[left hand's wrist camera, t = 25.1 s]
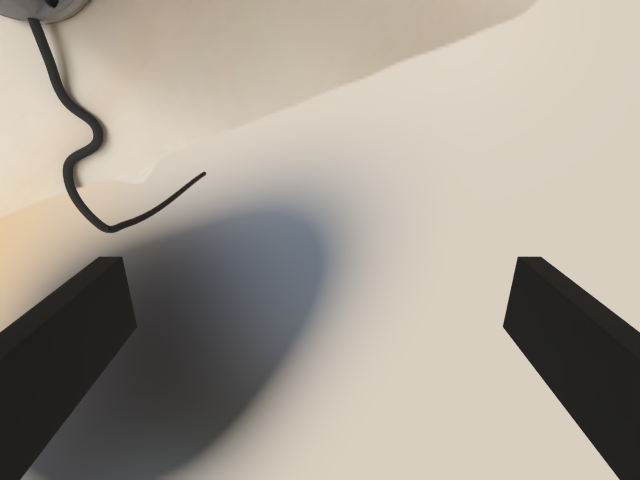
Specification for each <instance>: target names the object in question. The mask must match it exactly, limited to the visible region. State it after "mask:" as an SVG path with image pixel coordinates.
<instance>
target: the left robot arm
mask: <svg viewBox="0 0 640 480" xmlns="http://www.w3.org/2000/svg"><path fill="white" fill-rule="evenodd" d="M89 1H90V0H0V15H2V16H5V17H8V18H12V19H16V20H21V21H25V22H29V24H30V27H31V29H32V32H33V34H34V37H35V39H36V42H37V45H38V47H39V50H40V52H41V55H42V57H43V60H44V62H45V65H46V68H47V71H48V74H49V77H50V80H51V83H52V86H53V88H54V90H55V92H56V94H57V96H58V98H59V99H60V101H61V102H62V103H63V105H64V106H65V107H66V108H67V109H68V110H70V111H71V112H72V113H73V114H75V115H76V116H78V117H79V118H81V119H82V120H84V121H85V122H86V123H88V124H89V125H90V127H91V128H92V130H93V140H92V142H91V143H90V144H88V145H87V146H85V147H83V148H81V149H79V150H77V151H76V152H74V153H72V154H71V155H70V156H69V157H68V158H67V159H66V160H65V162H64V165H63V178H64V183H65V187H66V189H67V192H68V194H69V196H70V198H71V200H72V201H73V203H74V204H75V206H76V207H77V208H78V210H79V211H80V212H81V213H82V214H83V215H84V216H85V217H86V218H87V219H88V220H89V221H90V222H91V223H92V224H93V225H94V226H95V227H97V228H98V229H100V230H101V231H103V232H106V233H115V232H118V231H120V230H122V229H125V228H127V227H130V226H133V225H135V224H138V223H140V222H142V221H144V220H146V219H148V218H149V217H151V216H153V215H154V214H156V213H157V212H159V211H160V210H162V209H163V208H165V207H166V206H167V205H169V204H170V203H171V202H173V201H174V200H175V199H176V198H178V197H179V196H180V195H181V194H182V193H184V192H185V191H186V190H187V189H188V188H190V187H191V186H192V185H193V184H194V183H196V182H197V181H198V180H200V179H201V178H202V177H204V176H205V175H206V172H202V173H201V174H199V175H198V176H196V177H195V178H193V179H192V180H191V181H190V182H188V183H187V184H186V185H184V186H183V187H182V188H181V189H179V190H178V191H177V192H175V193H174V194H173V195H172V196H170V197H169V198H168V199H166V200H165V201H163V202H162V203H161V204H159V205H158V206H156V207H154V208H153V209H151V210H149V211H147V212H146V213H144V214H142V215H139V216H137V217H135V218H132V219H129V220H126V221H123V222H120V223H118V224H116V225H113V226H109V225H106V224H105V223H103V222H102V221H101V220H100V219H99V218H97V217H96V216H95V215H94V214H93V213H92V212H91V211H90V210H89V208H88V207H87V206H86V205H85V204H84V202H83V201H82V199H81V198H80V196H79V194H78V192H77V190H76V187H75V184H74V181H73V171H72V170H73V166H74V164H75V163H76V162H77V161H79V160H80V159H82V158H84V157H86V156H88V155H90V154H92V153H94V152H95V151H96V150H98V149H99V147H100V146H101V144H102V141H103V132H102V128H101V126H100V124H99V123H98V122H97V120H96V119H95V118H94V117H92V116H91V115H90V114H88V113H87V112H86V111H84V110H83V109H81V108H80V107H78V106H77V105H76V104H75V103H73V102H72V100H71V99H70V98H69V97H68V95H67V93H66V91H65V90H64V87H63V85H62V82H61V79H60V76H59V73H58V70H57V66H56V63H55V61H54V58H53V55H52V53H51V50H50V47H49V45H48V42H47V40H46V37H45V34H44V32H43V29H42V26H41V24H49V23H56V22H59V21H63V20H65V19H68V18H70V17H72V16H73V15H75V14H76V13H78V12H79V11H80V10H81V9H82V8H83V7H85V5H86V4H87V3H88V2H89ZM503 327H504V329H505V330H506V332H507V333H508V334H509V335H510V337H511V338H512V339H513V341H514V342H515V343H516V345H517V346H518V347H519V349H520V350H521V351H522V352H523V354H524V355H525V356H526V358H527V359H528V360H529V361H530V363H531V364H532V366H533V367H534V368H535V369H536V371H537V372H538V373H539V375H540V376H541V377H542V379H543V380H544V381H545V383H546V384H547V385H548V386H549V388H550V389H551V390H552V392H553V393H554V394H555V396H556V397H557V398H558V400H559V401H560V402H561V403H562V405H563V406H564V407H565V409H566V410H567V411H568V413H569V414H570V415H571V417H572V418H573V419H574V420H575V422H576V423H577V424H578V426H579V427H580V428H581V430H582V431H583V432H584V433H585V435H586V436H587V437H588V439H589V440H590V441H591V443H592V444H593V445H594V447H595V448H596V449H597V451H598V452H599V453H600V454H601V456H602V457H603V458H604V460H605V461H606V462H607V464H608V465H609V466H610V468H611V469H612V470H613V471H614V473H615V474H616V475H617V477H618V478H619V479H620V480H640V332H638V331H637V330H636V329H634V328H633V327H632V326H631V325H629V324H628V323H627V322H625V321H624V320H623V319H621V318H620V317H619V316H618V315H616V314H615V313H614V312H612V311H611V310H610V309H608V308H607V307H606V306H605V305H603V304H602V303H601V302H599V301H598V300H597V299H595V298H594V297H593V296H592V295H590V294H589V293H588V292H586V291H585V290H584V289H582V288H581V287H580V286H578V285H577V284H576V283H575V282H573V281H572V280H571V279H569V278H568V277H567V276H565V275H564V274H563V273H561V272H560V271H559V270H558V269H556V268H555V267H554V266H552V265H551V264H550V263H548V262H547V261H546V260H544V259H543V258H542V257H518V258H517V263H516V268H515V272H514V277H513V282H512V286H511V291H510V296H509V300H508V305H507V310H506V315H505V319H504V324H503ZM136 328H137V324H136V319H135V315H134V310H133V305H132V300H131V296H130V291H129V286H128V282H127V277H126V272H125V268H124V263H123V258H122V257H98V258H97V259H96V260H94V261H93V262H92V263H90V264H89V265H88V266H86V267H85V268H84V269H82V270H81V271H80V272H79V273H77V274H76V275H75V276H73V277H72V278H71V279H69V280H68V281H67V282H66V283H64V284H63V285H62V286H60V287H59V288H58V289H56V290H55V291H54V292H52V293H51V294H50V295H48V296H47V297H46V298H45V299H43V300H42V301H41V302H39V303H38V304H37V305H35V306H34V307H33V308H32V309H30V310H29V311H28V312H26V313H25V314H24V315H22V316H21V317H20V318H19V319H17V320H16V321H15V322H13V323H12V324H11V325H9V326H8V327H7V328H5V329H4V330H3V331H1V332H0V480H20V479H21V478H22V477H23V475H24V474H25V473H26V471H27V470H28V469H29V468H30V466H31V465H32V464H33V462H34V461H35V460H36V458H37V457H38V456H39V454H40V453H41V452H42V451H43V449H44V448H45V447H46V445H47V444H48V443H49V441H50V440H51V439H52V437H53V436H54V435H55V434H56V432H57V431H58V430H59V428H60V427H61V426H62V424H63V423H64V422H65V420H66V419H67V418H68V416H69V415H70V414H71V413H72V411H73V410H74V409H75V407H76V406H77V405H78V403H79V402H80V401H81V399H82V398H83V397H84V396H85V394H86V393H87V392H88V390H89V389H90V388H91V386H92V385H93V384H94V383H95V381H96V380H97V379H98V377H99V376H100V375H101V373H102V372H103V371H104V369H105V368H106V367H107V366H108V364H109V363H110V362H111V360H112V359H113V358H114V356H115V355H116V354H117V352H118V351H119V350H120V349H121V347H122V346H123V345H124V343H125V342H126V341H127V339H128V338H129V337H130V335H131V334H132V333H133V332H134V330H135V329H136Z"/></svg>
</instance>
